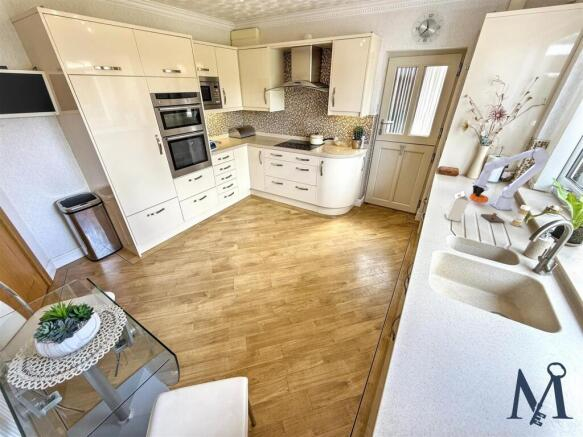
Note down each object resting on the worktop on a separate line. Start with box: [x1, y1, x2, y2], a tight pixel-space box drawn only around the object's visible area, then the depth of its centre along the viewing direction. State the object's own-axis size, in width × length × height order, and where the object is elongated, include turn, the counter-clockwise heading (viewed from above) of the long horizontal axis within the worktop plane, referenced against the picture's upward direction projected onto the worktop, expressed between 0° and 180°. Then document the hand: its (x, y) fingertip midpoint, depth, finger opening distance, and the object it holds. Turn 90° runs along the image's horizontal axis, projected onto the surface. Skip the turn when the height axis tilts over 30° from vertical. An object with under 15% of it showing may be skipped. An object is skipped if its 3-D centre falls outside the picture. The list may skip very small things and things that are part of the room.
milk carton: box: [445, 189, 470, 223], centre depth 149 cm, size 7×7×19 cm
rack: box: [480, 212, 506, 224], centre depth 154 cm, size 9×9×4 cm
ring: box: [469, 192, 490, 204], centre depth 175 cm, size 11×11×3 cm
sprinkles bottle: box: [510, 204, 532, 227], centre depth 147 cm, size 5×5×14 cm
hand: (475, 195), depth 178 cm, fingers closed on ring, 2 cm apart
